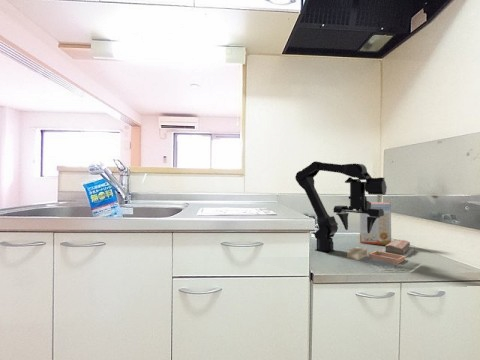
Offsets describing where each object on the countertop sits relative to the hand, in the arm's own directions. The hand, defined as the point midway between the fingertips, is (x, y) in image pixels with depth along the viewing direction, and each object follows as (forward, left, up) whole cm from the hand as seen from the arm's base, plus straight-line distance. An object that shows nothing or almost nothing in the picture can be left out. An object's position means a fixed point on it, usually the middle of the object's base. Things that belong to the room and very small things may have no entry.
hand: (357, 231), depth 110 cm
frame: (+9, +6, -11) cm, 15 cm away
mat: (+5, +3, -11) cm, 13 cm away
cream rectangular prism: (0, 0, -11) cm, 11 cm away
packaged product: (+8, +22, -12) cm, 26 cm away
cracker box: (-6, +32, -11) cm, 34 cm away
